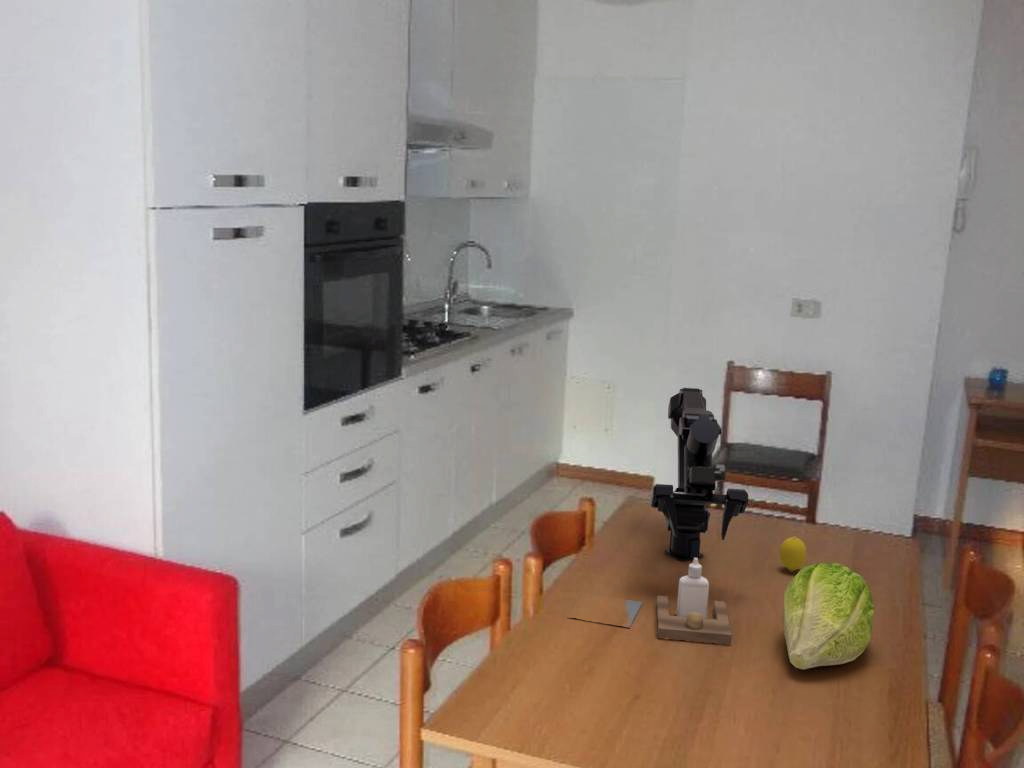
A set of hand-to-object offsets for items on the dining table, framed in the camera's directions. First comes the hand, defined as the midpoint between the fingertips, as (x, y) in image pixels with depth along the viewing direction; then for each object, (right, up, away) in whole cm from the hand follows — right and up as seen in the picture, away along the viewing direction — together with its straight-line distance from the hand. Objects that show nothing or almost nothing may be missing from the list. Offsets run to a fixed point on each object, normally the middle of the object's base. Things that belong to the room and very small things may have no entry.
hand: (699, 537), depth 194 cm
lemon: (+24, -11, +21) cm, 34 cm away
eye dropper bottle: (-2, -15, -5) cm, 16 cm away
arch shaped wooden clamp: (-3, -15, -7) cm, 17 cm away
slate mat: (-19, -14, -3) cm, 23 cm away
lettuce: (+18, -18, -17) cm, 31 cm away
